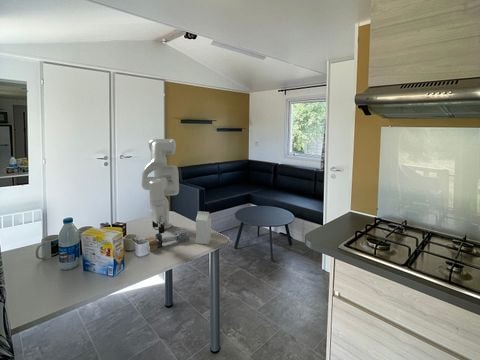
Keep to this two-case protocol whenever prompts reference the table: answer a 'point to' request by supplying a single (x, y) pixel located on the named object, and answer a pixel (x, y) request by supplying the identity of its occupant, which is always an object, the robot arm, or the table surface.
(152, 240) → the socket block
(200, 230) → the milk carton
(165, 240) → the tube
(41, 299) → the table surface
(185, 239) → the sleeve
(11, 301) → the table surface
